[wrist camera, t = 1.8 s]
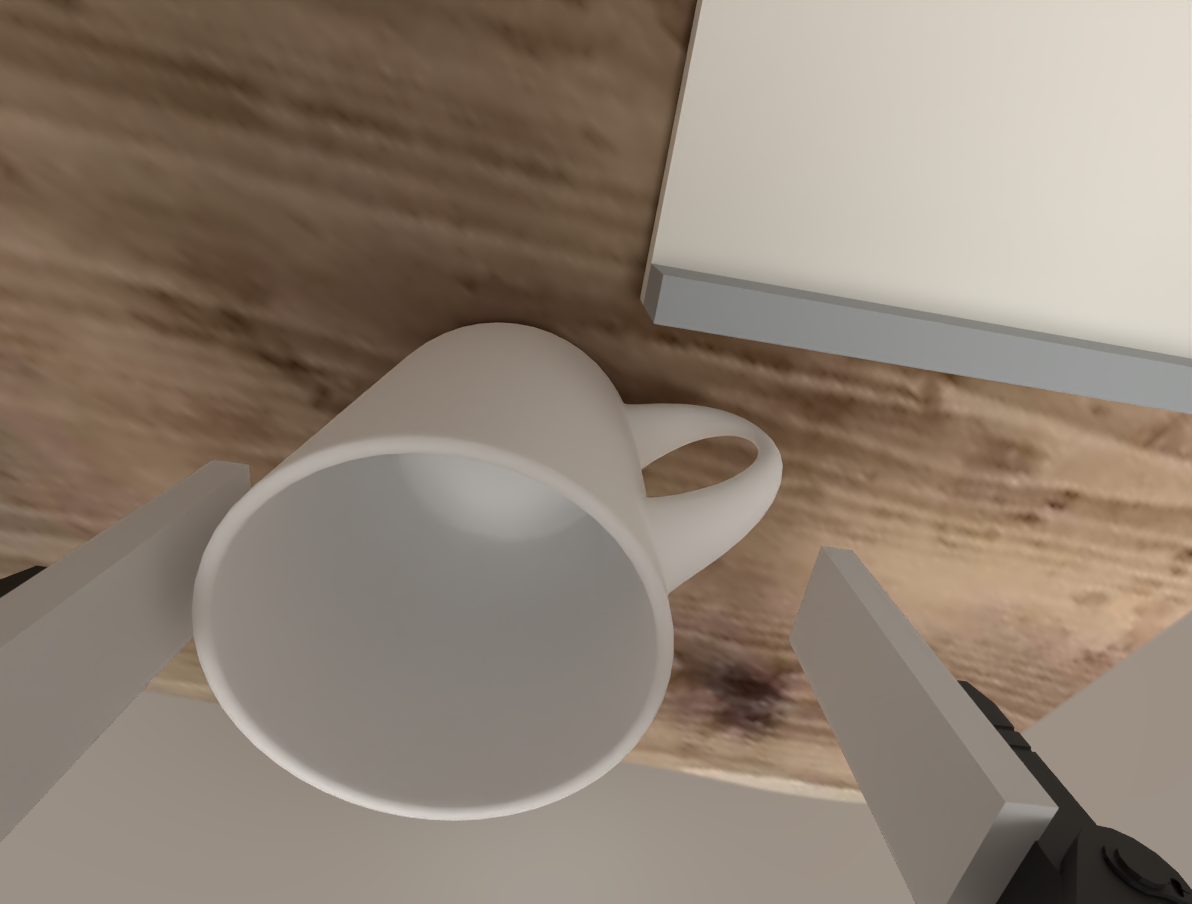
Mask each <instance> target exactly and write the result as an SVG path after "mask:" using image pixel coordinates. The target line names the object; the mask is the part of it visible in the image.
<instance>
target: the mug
mask: <svg viewBox="0 0 1192 904" xmlns="http://www.w3.org/2000/svg"><path fill="white" fill-rule="evenodd" d="M716 436H736V437H741V438H745V439H747V440H749V441H751V442H753V443H754V445H755V446H756V447H757V450H758V455H757V459H756V460H755V461H754V463H753V464H752V465H751V466H749V467H748V468H747V469H746V470H745V471H743V472H741V473H739V474H738V475H736V476H734V477H732V478H730V479H728V480H725V481H723V482H720V483H718V484H715V485H712V486H709V487H706V488H702V489H699V490H695V491H690V492H686V493H682V494H676V495H670V496H663V497H648V498H647V495H646V490H645V485H644V480H643V476H642V471H641V470H642V469H643V468H644V467H646V466H647V465H649V464H650V463H652V462H653V461H655V460H657V459H658V458H660V457H662V456H664V455H665V454H667V453H669V452H671V451H673V450H675V449H677V448H679V447H681V446H684V445H686V444H689V443H692V442H694V441H698V440H701V439H705V438H711V437H716ZM782 469H783V464H782V460H781V455H780V452H779V450H778V448H777V447H776V445H775V443H774V442H773V440H772V439H771V438H770V437H769V436H768V435H767V434H766V433H765V432H764V431H762V430H761V429H760V428H758V427H757V426H756V425H754V424H753V423H751V422H749V421H748V420H746V419H744V418H741V417H739V416H737V415H735V414H733V413H729V412H726V411H723V410H720V409H716V408H711V407H706V406H699V405H691V404H669V403H660V404H625V403H623V401H622V399H621V397H620V395H619V393H618V391H617V390H616V388H615V387H614V385H613V384H612V382H611V381H610V379H609V378H608V376H607V375H606V374H605V373H604V372H603V370H602V369H601V368H600V367H599V366H598V364H597V363H596V362H594V361H593V360H592V359H591V358H590V357H589V356H588V355H587V354H585V353H584V352H583V351H582V350H580V349H579V348H577V347H576V346H574V345H573V344H571V343H570V342H568V341H567V340H565V339H563V338H561V337H559V336H557V335H554V334H552V333H550V332H547V331H544V330H541V329H538V328H535V327H531V326H526V325H521V324H513V323H482V324H475V325H470V326H465V327H461V328H458V329H455V330H452V331H449V332H446V333H444V334H442V335H440V336H438V337H436V338H434V339H432V340H430V341H429V342H427V343H425V344H424V345H422V346H421V347H419V348H418V349H417V350H415V351H414V352H412V353H411V354H410V355H408V356H407V357H406V358H404V359H403V360H402V361H401V362H400V363H399V364H397V365H396V366H395V367H394V368H393V369H391V370H390V371H389V372H388V373H387V374H386V375H384V376H383V377H382V378H381V379H380V380H378V381H377V382H376V383H375V384H374V385H373V386H371V387H370V388H369V389H368V390H367V391H365V392H364V393H363V394H362V395H361V396H360V397H358V398H357V399H356V400H355V401H354V402H352V403H351V404H350V405H349V406H348V407H347V408H345V409H344V410H343V411H342V412H341V413H339V414H338V415H337V416H336V417H335V418H334V419H332V420H331V421H330V422H329V423H328V424H326V425H325V426H324V427H323V428H322V429H321V430H319V431H318V432H317V433H316V434H315V435H313V436H312V437H311V438H310V439H309V440H308V441H306V442H305V443H304V444H303V445H302V446H300V447H299V448H298V449H297V450H296V451H295V452H293V453H292V454H291V455H290V456H289V457H287V458H286V459H285V460H284V461H283V462H282V463H280V464H279V465H278V466H277V467H276V468H274V469H273V470H272V471H271V472H270V473H269V474H267V475H266V476H265V477H264V478H263V479H261V480H260V481H259V482H258V483H257V484H256V485H254V486H253V487H252V488H251V489H250V490H249V491H248V492H247V493H246V494H245V495H244V496H243V497H242V498H241V499H240V500H239V501H238V502H236V503H235V504H234V505H233V506H232V508H231V509H230V510H229V512H228V513H227V514H226V516H225V517H224V518H223V520H222V521H221V522H220V524H219V525H218V526H217V528H216V529H215V531H214V533H213V535H212V537H211V539H210V541H209V543H208V545H207V547H206V549H205V551H204V553H203V556H202V559H201V562H200V566H199V569H198V573H197V576H196V579H195V583H194V592H193V601H192V623H193V636H194V640H195V645H196V649H197V653H198V658H199V661H200V664H201V666H202V669H203V671H204V674H205V676H206V679H207V681H208V684H209V685H210V687H211V689H212V691H213V693H214V694H215V696H216V698H217V700H218V701H219V703H220V705H221V706H222V708H223V709H224V710H225V712H226V713H227V714H228V716H229V717H230V718H231V720H232V721H233V722H234V724H235V725H236V726H237V727H238V728H239V730H240V731H241V732H242V733H243V734H244V735H245V736H246V737H247V738H248V739H249V740H250V741H251V742H252V743H253V744H254V745H255V746H256V747H257V748H258V749H260V750H261V751H262V752H263V753H264V754H266V755H267V756H268V757H269V758H271V759H272V760H273V761H274V762H275V763H276V764H278V765H279V766H281V767H282V768H284V769H285V770H287V771H289V772H290V773H292V774H293V775H294V776H296V777H297V778H299V779H301V780H303V781H304V782H306V783H308V784H310V785H312V786H314V787H316V788H318V789H320V790H322V791H324V792H326V793H328V794H331V795H333V796H335V797H338V798H340V799H343V800H345V801H348V802H350V803H353V804H356V805H360V806H363V807H366V808H369V809H373V810H376V811H381V812H386V813H390V814H395V815H399V816H404V817H412V818H420V819H429V820H455V821H456V820H476V819H487V818H494V817H501V816H508V815H512V814H516V813H520V812H525V811H528V810H533V809H536V808H539V807H541V806H544V805H547V804H550V803H553V802H556V801H558V800H560V799H563V798H564V797H567V796H569V795H571V794H573V793H575V792H577V791H579V790H581V789H583V788H584V787H586V786H587V785H589V784H590V783H592V782H594V781H596V780H597V779H599V778H600V777H602V776H603V775H604V774H605V773H607V772H608V771H609V770H610V769H612V768H613V767H614V766H615V765H616V764H618V763H619V762H620V761H621V760H622V759H623V758H624V757H625V756H626V755H627V754H628V753H629V752H630V751H631V750H632V749H633V748H634V747H635V745H636V744H637V743H638V742H639V740H640V739H641V738H642V736H643V735H644V733H645V732H646V731H647V729H648V728H649V726H650V725H651V723H652V721H653V719H654V717H655V715H656V713H657V711H658V709H659V707H660V705H661V703H662V701H663V698H664V695H665V692H666V689H667V686H668V682H669V679H670V675H671V668H672V662H673V655H674V632H673V623H672V618H671V612H670V606H669V601H668V595H669V593H670V592H671V591H673V590H674V589H675V588H677V587H678V586H679V585H681V584H682V583H683V582H685V581H686V580H688V579H689V578H691V577H692V576H694V575H695V574H696V573H698V572H699V571H701V570H702V569H704V568H705V567H707V566H708V565H709V564H711V563H712V562H713V561H715V560H716V559H718V558H719V557H720V556H722V555H723V554H725V553H726V552H727V551H728V550H729V549H731V548H732V547H733V546H734V545H735V544H737V543H738V542H739V541H740V540H741V539H743V538H744V537H745V536H746V535H747V534H748V533H749V532H750V531H751V530H752V528H753V527H754V526H755V525H756V524H757V523H758V522H759V521H760V520H761V519H762V517H763V516H764V515H765V513H766V512H767V510H768V509H769V507H770V506H771V504H772V503H773V501H774V499H775V497H776V494H777V492H778V489H779V487H780V484H781V478H782Z"/></svg>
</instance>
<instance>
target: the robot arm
mask: <svg viewBox="0 0 1192 904" xmlns="http://www.w3.org/2000/svg"><path fill="white" fill-rule="evenodd" d="M249 490H250V469H249V465H248V464H241V463H234V462H227V461H220V460H212V461H210V462H209V463H207V464H206V465H204V466H202V467H201V468H199V469H198V470H196V471H195V472H193V473H192V474H190V475H189V476H187V477H186V478H184V479H183V480H181V481H179V482H178V483H176V484H175V485H173V486H172V487H170V488H169V489H167V490H166V491H164V492H163V493H161V494H159V495H158V496H156V497H155V498H153V499H152V500H150V501H149V502H147V503H146V504H144V505H143V506H141V507H140V508H138V509H136V510H135V511H133V512H132V513H130V514H129V515H127V516H126V517H124V518H123V519H121V520H120V521H118V522H116V523H115V524H113V525H112V526H110V527H109V528H107V529H106V530H104V531H103V532H101V533H100V534H98V535H96V536H95V537H93V538H92V539H90V540H89V541H87V542H86V543H84V544H83V545H81V546H80V547H78V548H77V549H75V550H73V551H72V552H70V553H69V554H67V555H66V556H64V557H63V558H61V559H60V560H58V561H57V562H55V563H53V564H52V565H50V566H49V567H43V566H34V567H32V568H29V569H27V570H24V571H21V572H19V573H16V574H14V575H11V576H8V577H6V578H3V579H0V842H1V841H2V840H3V839H4V838H5V837H6V836H7V835H8V834H9V833H10V832H11V830H12V829H13V828H14V827H15V826H16V825H17V824H18V823H19V822H20V821H21V820H22V819H23V818H24V817H25V815H26V814H27V813H28V812H29V811H30V810H31V809H32V808H33V807H34V806H35V805H36V804H37V803H38V802H39V801H40V799H41V798H42V797H43V796H44V795H45V794H46V793H47V792H48V791H49V790H50V789H51V788H52V786H54V784H55V783H56V782H57V781H58V780H59V779H60V778H61V777H62V776H63V775H64V774H65V773H66V772H67V771H68V769H69V768H70V767H71V766H72V765H73V764H74V763H75V762H76V761H77V760H78V759H79V758H80V757H81V756H82V755H83V754H84V752H85V751H86V750H87V749H88V748H89V747H90V746H91V745H92V744H93V743H94V742H95V741H96V739H97V738H99V736H100V735H101V734H102V733H103V732H104V731H105V730H106V729H107V728H108V727H109V726H110V725H111V723H113V721H114V720H115V719H116V718H117V717H118V716H119V715H120V714H121V713H122V712H123V711H124V710H125V709H126V708H127V707H128V705H129V704H130V703H131V702H132V701H133V700H134V699H135V698H136V697H137V695H139V694H140V693H141V692H142V690H143V689H144V688H145V687H146V686H147V685H148V684H149V683H150V682H151V681H152V680H153V679H154V678H155V677H156V676H157V674H158V673H159V672H160V671H161V670H162V669H163V668H164V667H165V666H166V665H167V664H168V663H169V662H170V661H171V659H172V658H173V657H174V656H175V655H176V654H177V653H178V652H179V651H180V650H181V649H182V648H183V647H184V646H185V645H186V643H187V642H188V641H189V640H190V639H191V638H192V637H193V623H192V601H193V592H194V583H195V579H196V576H197V573H198V569H199V566H200V562H201V559H202V556H203V553H204V551H205V549H206V547H207V545H208V543H209V541H210V539H211V537H212V535H213V533H214V531H215V529H216V528H217V526H218V525H219V524H220V522H221V521H222V520H223V518H224V517H225V516H226V514H227V513H228V512H229V510H230V509H231V508H232V506H233V505H234V504H235V503H236V502H238V501H239V500H240V499H241V498H242V497H243V496H244V495H245V494H246V493H247V492H248V491H249ZM789 642H790V644H791V646H792V648H793V650H794V652H795V654H796V657H797V659H798V661H799V663H800V665H801V667H802V669H803V671H804V673H805V675H806V677H807V679H808V681H809V683H810V686H811V688H812V690H813V692H814V694H815V696H816V698H817V700H818V702H819V704H820V706H821V708H822V710H823V713H824V715H825V717H826V719H827V721H828V723H829V725H830V727H831V729H832V731H833V733H834V735H835V737H836V739H837V742H838V744H839V746H840V748H841V750H842V752H843V754H844V756H845V758H846V760H847V762H848V764H849V766H850V769H851V771H852V773H853V775H854V777H855V779H856V781H857V783H858V785H859V787H860V789H861V791H862V793H863V795H864V798H865V800H866V802H867V804H868V806H869V808H870V810H871V812H872V814H873V816H874V818H875V820H876V822H877V825H878V827H879V829H880V831H881V833H882V835H883V837H884V839H885V841H886V843H887V845H888V847H889V849H890V851H891V854H892V856H893V858H894V860H895V862H896V864H897V866H898V868H899V870H900V872H901V874H902V876H903V878H904V880H905V882H906V884H907V887H908V889H909V891H910V893H911V895H912V897H913V899H914V901H915V903H916V904H1192V889H1191V888H1190V887H1189V886H1188V885H1187V883H1186V882H1185V881H1184V879H1183V878H1182V877H1181V876H1180V875H1179V873H1178V872H1177V871H1176V870H1175V869H1173V868H1172V867H1171V866H1170V865H1169V864H1168V863H1167V862H1166V861H1164V860H1163V859H1162V858H1161V857H1160V856H1159V855H1157V854H1156V853H1155V852H1153V851H1152V850H1150V849H1149V848H1147V847H1146V846H1144V845H1143V844H1141V843H1140V842H1138V841H1136V840H1135V839H1134V838H1132V837H1129V836H1127V835H1125V834H1123V833H1121V832H1118V831H1116V830H1114V829H1111V828H1107V827H1102V826H1097V825H1096V823H1095V822H1094V821H1093V820H1092V819H1091V818H1090V816H1089V815H1088V814H1087V813H1086V812H1085V810H1084V809H1083V808H1082V807H1081V806H1080V805H1079V804H1078V802H1077V801H1076V800H1075V799H1074V797H1073V796H1072V795H1071V794H1070V793H1069V792H1068V790H1067V789H1066V788H1065V787H1064V786H1063V784H1062V783H1061V782H1060V781H1059V780H1058V778H1057V777H1056V776H1055V775H1054V774H1053V773H1052V771H1051V770H1050V769H1049V768H1048V767H1047V765H1046V764H1045V763H1044V762H1043V761H1042V760H1041V758H1040V757H1039V756H1038V755H1037V754H1036V752H1032V751H1031V746H1030V745H1029V744H1028V743H1027V742H1026V740H1025V739H1024V738H1023V737H1022V736H1021V734H1020V733H1019V732H1015V731H1014V726H1013V725H1012V724H1011V723H1010V721H1009V720H1008V719H1007V718H1006V717H1005V716H1004V714H1003V713H1002V712H1001V711H1000V710H999V708H998V707H997V706H996V705H995V704H994V703H993V702H992V701H991V700H989V699H988V698H987V697H986V696H984V695H983V694H982V693H981V692H979V691H978V690H977V689H976V688H974V687H973V686H972V685H971V684H969V683H968V682H966V681H958V680H956V679H955V678H954V676H953V675H952V674H951V673H950V672H949V670H948V669H947V668H946V667H945V665H944V664H943V663H942V662H941V660H940V659H939V658H938V657H937V655H936V654H935V653H934V652H933V650H932V649H931V648H930V647H929V645H928V644H927V643H926V642H925V640H924V639H923V638H922V637H921V635H920V634H919V633H918V632H917V630H916V629H915V628H914V627H913V625H912V624H911V623H910V622H909V620H908V619H907V618H906V617H905V615H904V614H903V613H902V612H901V611H900V609H899V608H898V607H897V606H896V604H895V603H894V602H893V601H892V599H891V598H890V597H889V596H888V594H887V593H886V592H885V591H884V589H883V588H882V587H881V586H880V584H879V583H878V582H877V581H876V579H875V578H874V577H873V576H872V574H871V573H870V572H869V571H868V569H867V568H866V567H865V566H864V564H863V563H862V562H861V561H860V559H859V558H858V557H857V556H856V554H855V553H854V552H853V551H852V550H845V549H838V548H831V547H824V546H821V549H820V552H819V555H818V557H817V560H816V563H815V566H814V569H813V572H812V575H811V577H810V580H809V583H808V586H807V589H806V592H805V595H804V598H803V600H802V603H801V606H800V609H799V612H798V615H797V618H796V620H795V623H794V626H793V629H792V632H791V635H790V638H789Z"/></svg>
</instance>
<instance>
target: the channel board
mask: <svg viewBox="0 0 1192 904" xmlns="http://www.w3.org/2000/svg"><path fill="white" fill-rule="evenodd" d="M640 300H641V302H642V304H643V306H644V308H645V309H646V311H647V313H648V315H649V316H650V318H651V320H652V322H653V323H654V324H659V325H664V326H670V327H676V328H682V329H688V330H694V331H700V332H706V333H712V334H718V335H724V336H730V337H736V338H742V339H748V340H754V341H760V342H765V343H771V344H777V345H783V346H789V347H795V348H801V349H807V350H813V351H819V352H825V353H831V354H837V355H843V356H849V357H855V358H861V359H866V360H872V361H878V362H884V363H890V364H896V365H902V366H908V367H914V368H920V369H926V370H932V371H938V372H944V373H950V374H956V375H961V376H967V377H973V378H979V379H985V380H991V381H997V382H1003V383H1009V384H1015V385H1021V386H1027V387H1033V388H1039V389H1045V390H1051V391H1057V392H1062V393H1068V394H1074V395H1080V396H1086V397H1092V398H1098V399H1104V400H1110V401H1116V402H1122V403H1128V404H1134V405H1140V406H1146V407H1152V408H1158V409H1163V410H1169V411H1175V412H1181V413H1187V414H1192V0H697V4H696V10H695V15H694V20H693V25H692V30H691V36H690V41H689V46H688V51H687V56H686V62H685V67H684V72H683V77H682V82H681V88H680V93H679V98H678V103H677V108H676V114H675V119H674V124H673V129H672V134H671V140H670V145H669V150H668V155H667V160H666V166H665V171H664V176H663V181H662V186H661V192H660V197H659V202H658V207H657V212H656V218H655V223H654V228H653V233H652V238H651V244H650V249H649V254H648V259H647V264H646V270H645V275H644V280H643V285H642V290H641V296H640Z"/></svg>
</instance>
